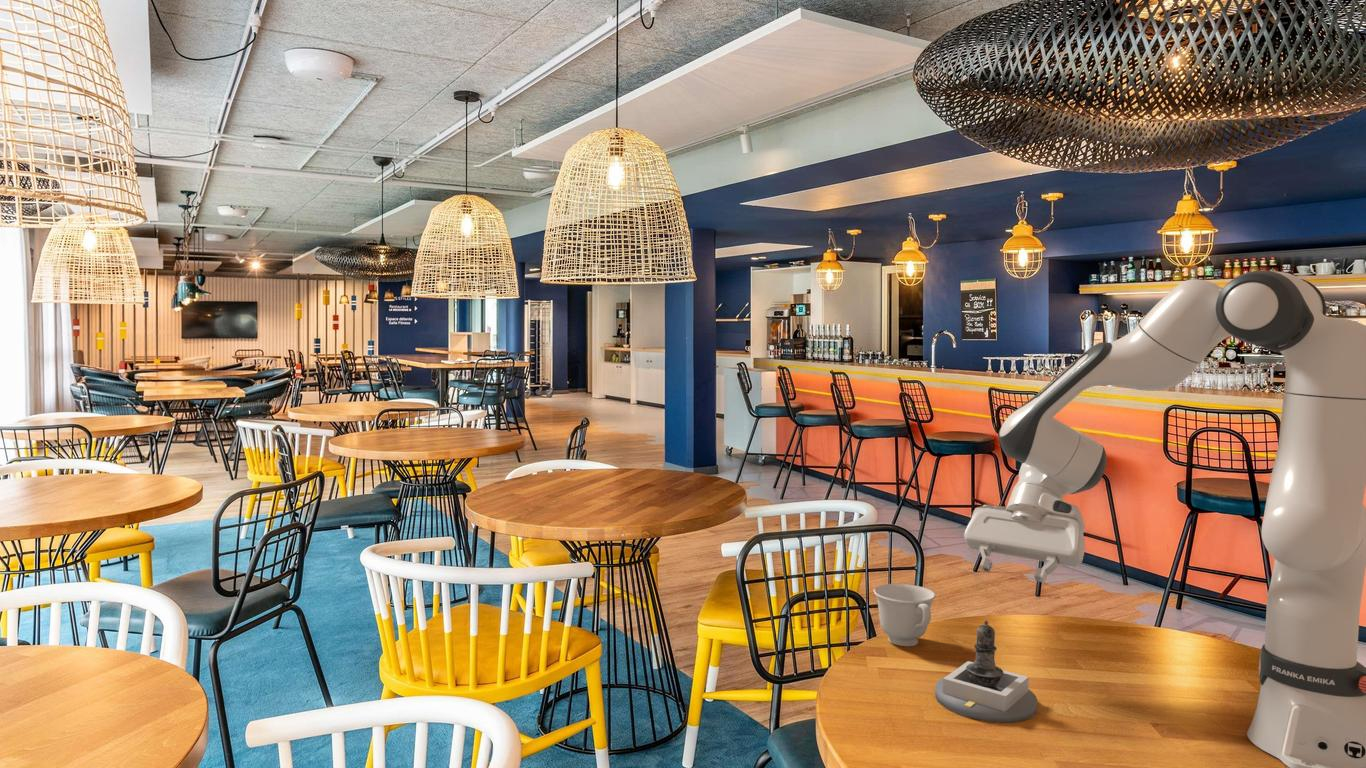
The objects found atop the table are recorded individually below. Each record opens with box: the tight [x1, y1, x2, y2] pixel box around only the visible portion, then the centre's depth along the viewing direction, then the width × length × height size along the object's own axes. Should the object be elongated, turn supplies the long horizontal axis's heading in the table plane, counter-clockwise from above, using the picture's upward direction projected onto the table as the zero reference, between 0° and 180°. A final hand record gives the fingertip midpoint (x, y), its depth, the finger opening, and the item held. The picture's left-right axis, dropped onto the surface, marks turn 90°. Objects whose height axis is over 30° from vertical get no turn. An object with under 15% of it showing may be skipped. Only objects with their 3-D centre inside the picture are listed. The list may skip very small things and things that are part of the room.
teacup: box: [873, 583, 936, 647], centre depth 169 cm, size 12×15×10 cm
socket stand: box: [934, 660, 1038, 724], centre depth 142 cm, size 16×16×4 cm
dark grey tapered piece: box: [966, 620, 1003, 692], centre depth 143 cm, size 6×6×12 cm
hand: (1011, 574), depth 149 cm, fingers open, 8 cm apart
